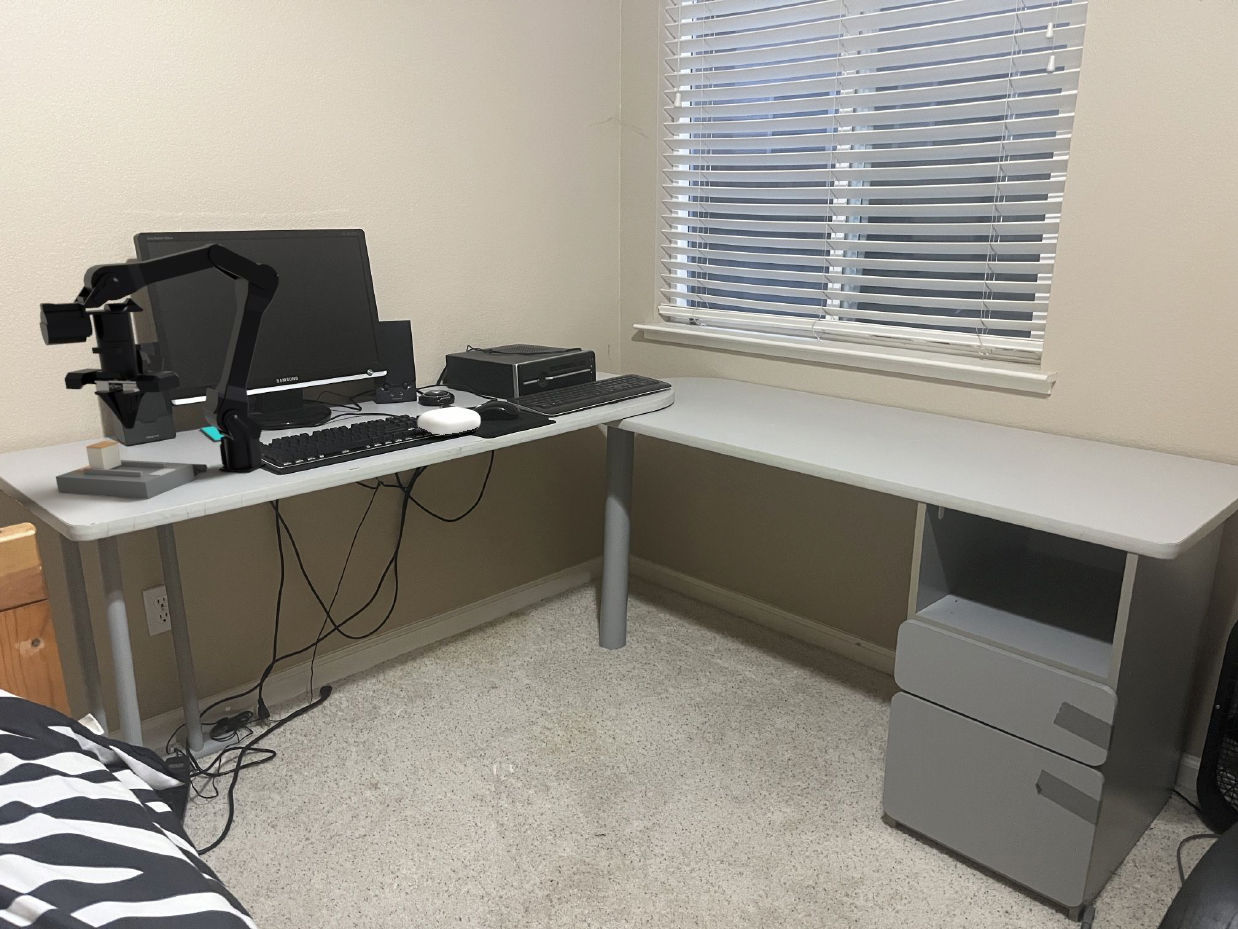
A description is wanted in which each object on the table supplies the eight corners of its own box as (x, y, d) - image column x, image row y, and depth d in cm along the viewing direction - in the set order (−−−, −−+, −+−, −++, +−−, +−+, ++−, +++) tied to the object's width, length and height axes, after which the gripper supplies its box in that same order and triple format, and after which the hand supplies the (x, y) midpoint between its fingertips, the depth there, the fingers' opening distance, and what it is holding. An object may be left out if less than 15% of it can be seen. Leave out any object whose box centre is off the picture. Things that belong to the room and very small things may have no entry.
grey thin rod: (207, 470, 166) (206, 463, 166) (203, 472, 165) (202, 465, 165) (141, 468, 168) (140, 461, 168) (136, 470, 167) (135, 463, 166)
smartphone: (232, 423, 204) (249, 435, 192) (233, 426, 204) (250, 439, 192) (199, 427, 200) (214, 440, 188) (199, 431, 200) (214, 444, 188)
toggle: (121, 464, 158) (117, 441, 157) (104, 470, 154) (100, 447, 153) (107, 464, 159) (103, 441, 158) (90, 469, 155) (86, 446, 154)
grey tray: (194, 479, 160) (191, 459, 159) (147, 499, 149) (144, 477, 148) (110, 474, 164) (107, 454, 163) (58, 493, 153) (54, 472, 152)
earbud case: (412, 434, 195) (411, 410, 194) (461, 425, 204) (460, 402, 203) (437, 442, 188) (435, 417, 187) (486, 432, 197) (485, 409, 195)
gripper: (194, 335, 155) (206, 420, 159) (105, 333, 159) (118, 416, 163) (149, 343, 144) (163, 435, 148) (55, 341, 148) (70, 430, 152)
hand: (129, 428), depth 153 cm, fingers closed
